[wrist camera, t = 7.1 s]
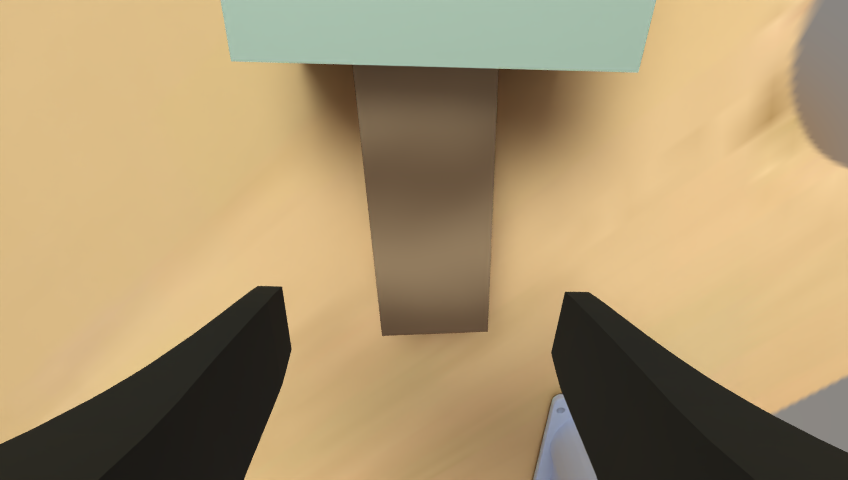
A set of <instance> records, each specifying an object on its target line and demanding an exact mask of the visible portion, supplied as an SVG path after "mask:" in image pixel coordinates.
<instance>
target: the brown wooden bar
mask: <svg viewBox="0 0 848 480" xmlns="http://www.w3.org/2000/svg"><path fill="white" fill-rule="evenodd" d="M353 73H354V82H355V92H356V101H357V110H358V119H359V128H360V137H361V147H362V156H363V165H364V174H365V183H366V192H367V201H368V211H369V220H370V229H371V238H372V247H373V256H374V266H375V275H376V284H377V293H378V302H379V311H380V321H381V330H382V336H389V335H414V334H439V333H465V332H488V310H489V286H490V262H491V237H492V213H493V189H494V164H495V140H496V116H497V91H498V69H495V68H458V67H422V66H386V65H353Z"/></svg>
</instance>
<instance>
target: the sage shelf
mask: <svg viewBox="0 0 848 480" xmlns="http://www.w3.org/2000/svg"><path fill="white" fill-rule="evenodd" d="M655 3H656V0H221V5H222V11H223V17H224V22H225V28H226V34H227V40H228V46H229V51H230V57H231V61H240V62H277V63H313V64H349V65H386V66H422V67H458V68H495V69H531V70H567V71H604V72H638V71H639V67H640V63H641V59H642V55H643V51H644V47H645V43H646V39H647V35H648V31H649V27H650V23H651V19H652V15H653V11H654V7H655Z"/></svg>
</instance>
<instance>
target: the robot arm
mask: <svg viewBox="0 0 848 480" xmlns="http://www.w3.org/2000/svg"><path fill="white" fill-rule="evenodd" d="M290 353H291V343H290V336H289V330H288V323H287V316H286V310H285V303H284V297H283V290H282V287H274V286H257V287H256V288H254V289H253V290H251V291H250V292H249V293H247V294H246V295H245V296H243V297H242V298H241V299H239V300H238V301H237V302H235V303H234V304H233V305H232V306H230V307H229V308H228V309H226V310H225V311H224V312H222V313H221V314H220V315H218V316H217V317H216V318H214V319H213V320H212V321H210V322H209V323H208V324H206V325H205V326H204V327H202V328H201V329H200V330H198V331H197V332H196V333H194V334H193V335H192V336H190V337H189V338H187V339H186V340H184V341H183V342H181V343H180V344H178V345H177V346H176V347H174V348H173V349H171V350H170V351H168V352H167V353H165V354H164V355H162V356H161V357H160V358H158V359H157V360H155V361H154V362H152V363H151V364H149V365H148V366H146V367H144V368H143V369H141V370H140V371H138V372H136V373H135V374H133V375H132V376H130V377H128V378H127V379H125V380H123V381H121V382H120V383H118V384H116V385H115V386H113V387H111V388H109V389H108V390H106V391H104V392H103V393H101V394H99V395H97V396H95V397H94V398H92V399H90V400H88V401H86V402H84V403H82V404H80V405H78V406H76V407H75V408H73V409H71V410H69V411H67V412H65V413H63V414H61V415H59V416H57V417H55V418H53V419H51V420H49V421H47V422H45V423H44V424H42V425H40V426H38V427H36V428H34V429H32V430H30V431H28V432H25V433H23V434H21V435H19V436H17V437H15V438H13V439H10V440H8V441H6V442H4V443H2V444H0V480H244V478H245V475H246V473H247V470H248V468H249V465H250V463H251V460H252V458H253V455H254V453H255V450H256V448H257V446H258V443H259V441H260V438H261V436H262V433H263V431H264V429H265V426H266V424H267V421H268V419H269V416H270V414H271V412H272V409H273V407H274V404H275V402H276V399H277V397H278V394H279V392H280V389H281V386H282V383H283V380H284V376H285V373H286V369H287V365H288V361H289V357H290ZM551 354H552V358H553V362H554V366H555V370H556V374H557V377H558V381H559V385H560V388H561V391H562V393H563V394H558V395H556V396H555V397H553V399H552V403H551V407H550V411H549V415H548V420H547V424H546V428H545V432H544V436H543V440H542V445H541V449H540V453H539V457H538V461H537V466H536V470H535V474H534V478H533V480H848V453H847V452H845V451H843V450H841V449H839V448H837V447H835V446H832V445H830V444H828V443H826V442H824V441H822V440H820V439H818V438H816V437H814V436H812V435H810V434H808V433H806V432H804V431H802V430H800V429H798V428H796V427H795V426H792V425H791V424H789V423H787V422H785V421H783V420H781V419H779V418H777V417H775V416H773V415H772V414H770V413H768V412H766V411H764V410H762V409H761V408H759V407H757V406H755V405H753V404H752V403H750V402H748V401H746V400H745V399H743V398H741V397H740V396H738V395H736V394H735V393H733V392H731V391H729V390H728V389H726V388H724V387H723V386H721V385H719V384H718V383H716V382H715V381H713V380H711V379H710V378H708V377H707V376H705V375H703V374H702V373H700V372H699V371H697V370H696V369H694V368H693V367H691V366H690V365H688V364H687V363H685V362H684V361H682V360H681V359H680V358H678V357H677V356H675V355H674V354H672V353H671V352H669V351H668V350H667V349H665V348H664V347H662V346H661V345H660V344H658V343H657V342H655V341H654V340H653V339H651V338H650V337H649V336H647V335H646V334H645V333H643V332H642V331H641V330H639V329H638V328H637V327H635V326H634V325H633V324H631V323H630V322H629V321H627V320H626V319H625V318H623V317H622V316H621V315H619V314H618V313H617V312H616V311H614V310H613V309H612V308H610V307H609V306H608V305H606V304H605V303H604V302H602V301H601V300H599V299H598V298H597V297H595V296H594V295H592V294H591V293H589V292H565V295H564V299H563V303H562V308H561V312H560V317H559V321H558V326H557V330H556V334H555V339H554V343H553V348H552V352H551Z"/></svg>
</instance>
